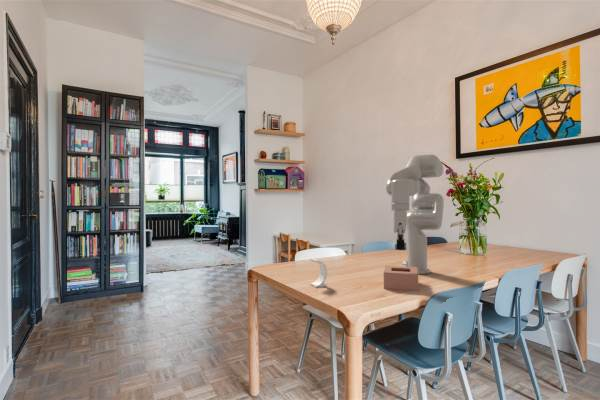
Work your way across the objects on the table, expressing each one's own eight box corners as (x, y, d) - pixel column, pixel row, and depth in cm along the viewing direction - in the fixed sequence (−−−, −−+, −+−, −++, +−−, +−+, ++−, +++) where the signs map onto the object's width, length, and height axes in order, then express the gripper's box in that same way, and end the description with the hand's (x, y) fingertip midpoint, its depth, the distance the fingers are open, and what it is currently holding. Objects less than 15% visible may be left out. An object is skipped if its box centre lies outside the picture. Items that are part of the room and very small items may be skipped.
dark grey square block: (392, 249, 145) (392, 243, 145) (399, 248, 147) (399, 242, 147) (401, 250, 141) (401, 244, 141) (408, 249, 144) (408, 243, 144)
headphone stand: (310, 285, 146) (310, 258, 146) (321, 283, 149) (321, 257, 149) (316, 287, 142) (315, 260, 142) (327, 285, 145) (327, 259, 145)
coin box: (383, 288, 140) (383, 272, 140) (385, 280, 153) (385, 265, 153) (418, 291, 136) (418, 274, 136) (416, 282, 149) (416, 267, 149)
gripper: (392, 206, 153) (392, 245, 153) (390, 207, 137) (391, 251, 137) (409, 206, 151) (409, 245, 151) (409, 207, 135) (409, 251, 135)
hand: (400, 247), depth 144 cm, fingers closed on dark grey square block, 4 cm apart
